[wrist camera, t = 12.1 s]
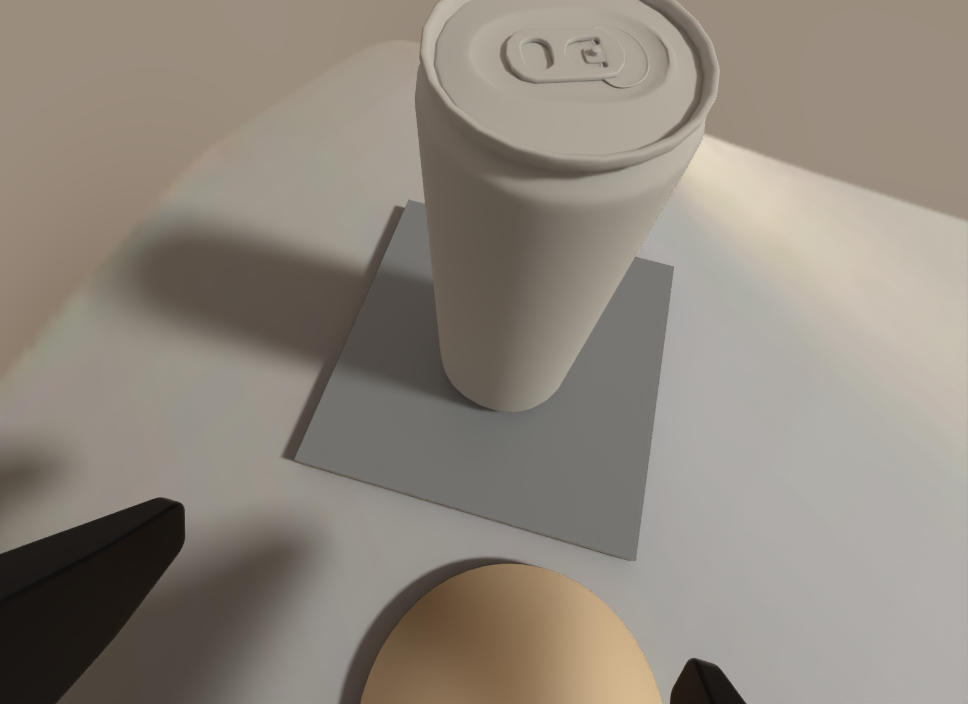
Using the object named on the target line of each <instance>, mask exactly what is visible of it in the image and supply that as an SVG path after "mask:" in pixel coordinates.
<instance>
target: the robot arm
mask: <svg viewBox="0 0 968 704" xmlns="http://www.w3.org/2000/svg"><path fill="white" fill-rule="evenodd" d="M184 541H185V509H184V506H183V504H182V503H180V502H177V501H174V500H170V499H167V498H163V497H159V498H155V499H152V500H149V501H146V502H143V503H141V504H138V505H135V506H132V507H129V508H127V509H124V510H121V511H118V512H116V513H113V514H110V515H107V516H104V517H102V518H99V519H96V520H93V521H91V522H88V523H85V524H82V525H79V526H77V527H74V528H71V529H68V530H66V531H63V532H60V533H57V534H54V535H52V536H49V537H46V538H43V539H40V540H38V541H35V542H32V543H29V544H27V545H24V546H21V547H18V548H15V549H13V550H10V551H7V552H4V553H2V554H0V704H56V703H57V702H58V701H59V700H60V698H61V697H62V696H63V695H64V694H65V693H66V692H67V691H68V689H69V688H70V687H71V686H72V685H73V684H74V683H75V682H76V680H77V679H78V678H79V677H80V676H81V675H82V674H83V673H84V672H85V670H86V669H87V668H88V667H89V666H90V665H91V664H92V663H93V661H94V660H95V659H96V658H97V657H98V656H99V655H100V654H101V653H102V651H103V650H104V649H105V648H106V647H107V646H108V644H109V643H110V642H111V641H112V640H113V639H114V637H115V636H116V635H117V634H118V633H119V631H120V630H121V629H122V628H123V626H124V625H125V624H126V622H127V621H128V620H129V619H130V617H131V616H132V615H133V613H134V612H135V611H136V609H137V608H138V607H139V605H140V604H141V603H142V601H143V600H144V599H145V597H146V596H147V595H148V593H149V592H150V591H151V589H152V588H153V587H154V585H155V584H156V583H157V581H158V580H159V579H160V577H161V576H162V575H163V573H164V572H165V571H166V569H167V568H168V567H169V565H170V564H171V563H172V561H173V560H174V559H175V558H176V556H177V555H178V553H179V552H180V550H181V549H182V547H183V544H184ZM670 704H746V702H745V701H744V700H743V698H742V697H741V696H740V694H739V693H738V692H737V690H736V689H735V688H734V686H733V685H732V684H731V682H730V681H729V679H728V678H727V677H726V675H725V674H724V673H723V671H722V670H721V669H720V668H719V667H718V666H717V665H715V664H713V663H710V662H706V661H703V660H700V659H697V658H691V659H690V660H688V662H687V663H686V665H685V666H684V668H683V670H682V672H681V674H680V676H679V677H678V679H677V681H676V683H675V685H674V686H673V689H672V692H671V697H670Z"/></svg>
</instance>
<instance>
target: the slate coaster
mask: <svg viewBox="0 0 968 704" xmlns="http://www.w3.org/2000/svg"><path fill="white" fill-rule="evenodd" d="M673 270H674V267H673V266H669V265H665V264H661V263H657V262H653V261H650V260H646V259H642V258H638V257H635V258H634V260H633V261H632V263H631V265H630V266H629V268H628V270H627V272H626V273H625V275H624V277H623V278H622V280H621V282H620V284H619V285H618V287H617V289H616V290H615V292H614V294H613V296H612V297H611V299H610V301H609V302H608V304H607V306H606V308H605V309H604V311H603V313H602V314H601V316H600V318H599V320H598V321H597V323H596V325H595V327H594V328H593V330H592V332H591V333H590V335H589V337H588V339H587V340H586V342H585V344H584V345H583V347H582V349H581V351H580V352H579V354H578V356H577V357H576V359H575V361H574V363H573V364H572V366H571V368H570V369H569V371H568V373H567V375H566V376H565V378H564V380H563V381H562V383H561V385H560V387H559V388H558V390H557V391H556V392H555V393H554V394H553V395H552V396H551V397H550V398H549V399H547V400H546V401H545V402H543V403H541V404H539V405H537V406H536V407H534V408H532V409H528V410H523V411H518V412H505V411H496V410H493V409H490V408H487V407H484V406H481V405H479V404H477V403H475V402H474V401H472V400H470V399H468V398H467V397H465V396H464V395H463V394H462V393H461V392H459V391H458V390H457V389H456V388H455V387H454V386H453V385H452V383H451V382H450V380H449V378H448V376H447V375H446V373H445V371H444V367H443V363H442V359H441V353H440V343H439V333H438V324H437V314H436V304H435V294H434V285H433V275H432V265H431V255H430V245H429V236H428V226H427V216H426V206H425V204H423V203H419V202H415V201H411V200H408V203H407V205H406V207H405V209H404V212H403V214H402V216H401V218H400V221H399V223H398V225H397V228H396V230H395V232H394V234H393V237H392V239H391V241H390V243H389V246H388V248H387V250H386V252H385V255H384V257H383V259H382V262H381V264H380V266H379V268H378V271H377V273H376V275H375V277H374V280H373V282H372V284H371V286H370V289H369V291H368V293H367V296H366V298H365V300H364V302H363V305H362V307H361V309H360V311H359V314H358V316H357V318H356V320H355V323H354V325H353V327H352V330H351V332H350V334H349V336H348V339H347V341H346V343H345V345H344V348H343V350H342V352H341V354H340V357H339V359H338V361H337V364H336V366H335V368H334V370H333V373H332V375H331V377H330V379H329V382H328V384H327V386H326V388H325V391H324V393H323V395H322V398H321V400H320V402H319V404H318V407H317V409H316V411H315V413H314V416H313V418H312V420H311V422H310V425H309V427H308V429H307V432H306V434H305V436H304V438H303V441H302V443H301V445H300V447H299V450H298V452H297V454H296V456H295V459H294V460H295V461H297V462H299V463H301V464H305V465H308V466H312V467H315V468H318V469H322V470H325V471H328V472H332V473H335V474H339V475H342V476H345V477H349V478H352V479H355V480H359V481H362V482H366V483H369V484H372V485H376V486H379V487H382V488H386V489H389V490H393V491H396V492H399V493H403V494H406V495H409V496H413V497H416V498H419V499H423V500H426V501H430V502H433V503H436V504H440V505H443V506H446V507H450V508H453V509H457V510H460V511H463V512H467V513H470V514H473V515H477V516H480V517H484V518H487V519H490V520H494V521H497V522H500V523H504V524H507V525H510V526H514V527H517V528H521V529H524V530H527V531H531V532H534V533H537V534H541V535H544V536H548V537H551V538H554V539H558V540H561V541H564V542H568V543H571V544H575V545H578V546H581V547H585V548H588V549H591V550H595V551H598V552H601V553H605V554H608V555H612V556H615V557H618V558H622V559H625V560H628V561H636V554H637V547H638V539H639V531H640V524H641V516H642V508H643V501H644V493H645V485H646V478H647V470H648V462H649V455H650V447H651V439H652V432H653V424H654V416H655V409H656V401H657V393H658V386H659V378H660V370H661V363H662V355H663V347H664V340H665V332H666V324H667V316H668V309H669V301H670V293H671V286H672V278H673Z"/></svg>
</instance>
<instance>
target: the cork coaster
mask: <svg viewBox="0 0 968 704" xmlns="http://www.w3.org/2000/svg"><path fill="white" fill-rule="evenodd" d="M360 704H662V701H661V698H660V695H659V692H658V688H657V685H656V682H655V679H654V677H653V674H652V672H651V670H650V668H649V665H648V663H647V661H646V659H645V657H644V655H643V653H642V651H641V650H640V648H639V646H638V644H637V643H636V641H635V639H634V638H633V636H632V635H631V633H630V632H629V631H628V629H627V628H626V627H625V625H624V624H623V623H622V621H621V620H620V619H619V618H618V617H617V616H616V615H615V613H614V612H613V611H612V610H611V609H610V608H609V607H608V606H607V605H606V604H605V603H604V602H603V601H601V600H600V599H599V598H598V597H597V596H595V595H594V594H593V593H592V592H591V591H589V590H588V589H586V588H585V587H583V586H581V585H580V584H578V583H577V582H575V581H573V580H571V579H569V578H567V577H565V576H563V575H561V574H559V573H556V572H553V571H550V570H547V569H544V568H540V567H535V566H529V565H523V564H495V565H486V566H482V567H478V568H474V569H471V570H467V571H465V572H463V573H460V574H458V575H456V576H453V577H451V578H449V579H448V580H446V581H444V582H443V583H441V584H439V585H438V586H436V587H435V588H433V589H432V590H431V591H430V592H428V593H427V594H426V595H424V596H423V597H422V598H421V599H420V600H419V601H418V602H417V603H416V604H415V605H414V606H413V607H412V608H411V609H410V610H409V611H408V612H407V613H406V614H405V615H404V616H403V617H402V619H401V620H400V621H399V623H398V624H397V625H396V627H395V628H394V629H393V631H392V632H391V633H390V635H389V637H388V638H387V640H386V642H385V643H384V645H383V647H382V648H381V650H380V652H379V654H378V656H377V658H376V660H375V662H374V665H373V667H372V669H371V671H370V674H369V676H368V679H367V682H366V685H365V689H364V692H363V695H362V698H361V703H360Z"/></svg>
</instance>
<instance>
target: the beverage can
mask: <svg viewBox="0 0 968 704" xmlns="http://www.w3.org/2000/svg"><path fill="white" fill-rule="evenodd" d="M419 58H420V65H419V67H418V74H417V83H416V92H415V108H416V118H417V128H418V138H419V148H420V157H421V167H422V177H423V187H424V197H425V206H426V216H427V226H428V236H429V245H430V255H431V265H432V275H433V285H434V294H435V304H436V314H437V324H438V333H439V343H440V353H441V359H442V363H443V367H444V371H445V373H446V375H447V376H448V378H449V380H450V382H451V383H452V385H453V386H454V387H455V388H456V389H457V390H458V391H459V392H461V393H462V394H463V395H464V396H465V397H467V398H468V399H470V400H472V401H474V402H475V403H477V404H479V405H481V406H484V407H487V408H490V409H493V410H496V411H505V412H518V411H523V410H528V409H532V408H534V407H536V406H537V405H539V404H541V403H543V402H545V401H546V400H547V399H549V398H550V397H551V396H552V395H553V394H554V393H555V392H556V391H557V390H558V388H559V387H560V385H561V383H562V381H563V380H564V378H565V376H566V375H567V373H568V371H569V369H570V368H571V366H572V364H573V363H574V361H575V359H576V357H577V356H578V354H579V352H580V351H581V349H582V347H583V345H584V344H585V342H586V340H587V339H588V337H589V335H590V333H591V332H592V330H593V328H594V327H595V325H596V323H597V321H598V320H599V318H600V316H601V314H602V313H603V311H604V309H605V308H606V306H607V304H608V302H609V301H610V299H611V297H612V296H613V294H614V292H615V290H616V289H617V287H618V285H619V284H620V282H621V280H622V278H623V277H624V275H625V273H626V272H627V270H628V268H629V266H630V265H631V263H632V261H633V260H634V258H635V256H636V254H637V253H638V251H639V249H640V248H641V246H642V244H643V242H644V241H645V239H646V237H647V236H648V234H649V232H650V230H651V229H652V227H653V225H654V224H655V222H656V220H657V218H658V217H659V215H660V213H661V212H662V210H663V208H664V206H665V205H666V203H667V201H668V200H669V198H670V196H671V194H672V193H673V191H674V189H675V188H676V186H677V184H678V182H679V181H680V179H681V177H682V176H683V174H684V172H685V170H686V169H687V167H688V165H689V163H690V161H691V160H692V158H693V156H694V154H695V152H696V151H697V149H698V147H699V145H700V143H701V141H702V139H703V135H704V128H705V120H706V115H707V113H708V111H709V110H710V108H711V106H712V105H713V103H714V101H715V99H716V97H717V91H718V81H719V71H720V68H719V64H718V61H717V57H716V54H715V50H714V46H713V43H712V42H711V40H710V39H709V37H708V36H707V34H706V33H705V31H704V30H703V28H702V27H701V25H700V24H699V22H698V21H697V19H695V18H694V17H693V16H692V15H691V14H690V13H689V12H688V11H687V10H686V9H684V8H683V7H682V6H681V5H680V4H679V3H678V2H677V1H676V0H440V1H438V3H436V4H435V6H434V7H433V9H432V11H431V13H430V15H429V17H428V19H427V21H426V23H425V24H424V26H423V28H422V37H421V46H420V56H419Z"/></svg>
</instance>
